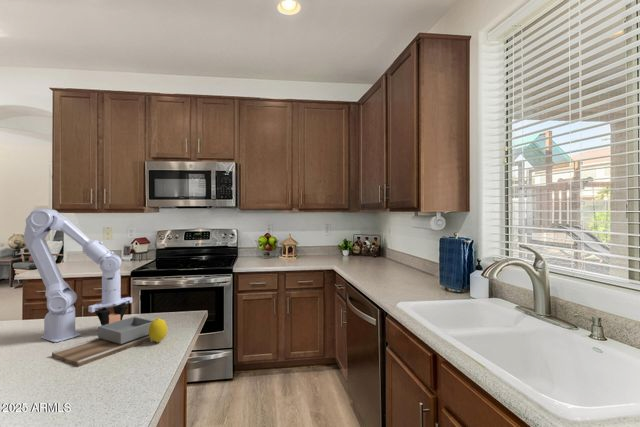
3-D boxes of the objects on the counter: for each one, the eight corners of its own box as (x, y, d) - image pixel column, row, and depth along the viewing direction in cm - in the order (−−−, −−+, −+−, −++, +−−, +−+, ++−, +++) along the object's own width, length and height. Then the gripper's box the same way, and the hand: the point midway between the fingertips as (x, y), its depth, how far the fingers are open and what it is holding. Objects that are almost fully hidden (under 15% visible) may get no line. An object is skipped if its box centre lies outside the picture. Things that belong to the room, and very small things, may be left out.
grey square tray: (98, 339, 113) (98, 326, 113) (135, 328, 125) (135, 316, 125) (120, 346, 108) (120, 332, 108) (157, 333, 119) (157, 321, 119)
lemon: (160, 346, 110) (159, 321, 110) (144, 345, 111) (144, 320, 111) (170, 340, 116) (170, 316, 116) (156, 338, 117) (156, 315, 117)
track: (51, 356, 102) (51, 343, 102) (137, 329, 126) (137, 318, 126) (78, 366, 96) (78, 352, 96) (163, 335, 120) (163, 324, 120)
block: (102, 332, 123) (102, 315, 123) (113, 329, 126) (113, 313, 126) (109, 334, 121) (109, 317, 121) (120, 331, 124) (120, 314, 124)
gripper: (96, 294, 115) (97, 335, 115) (137, 286, 128) (137, 323, 128) (84, 292, 119) (84, 332, 119) (125, 284, 131) (125, 320, 131)
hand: (111, 327), depth 124 cm, fingers closed on block, 4 cm apart
